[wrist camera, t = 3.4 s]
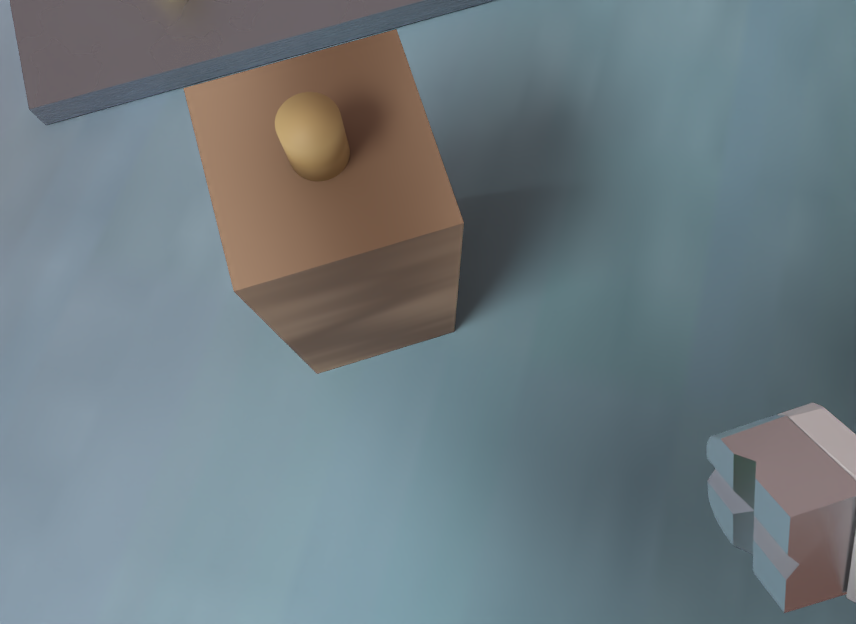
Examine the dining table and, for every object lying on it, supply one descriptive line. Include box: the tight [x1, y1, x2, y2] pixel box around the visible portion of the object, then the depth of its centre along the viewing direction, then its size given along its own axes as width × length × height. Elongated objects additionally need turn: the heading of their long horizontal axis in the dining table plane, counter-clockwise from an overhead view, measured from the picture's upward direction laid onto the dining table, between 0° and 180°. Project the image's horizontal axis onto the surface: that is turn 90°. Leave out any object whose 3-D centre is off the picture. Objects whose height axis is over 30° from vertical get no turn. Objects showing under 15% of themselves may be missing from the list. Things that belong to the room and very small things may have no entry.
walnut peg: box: [184, 29, 464, 374], centre depth 17 cm, size 4×4×10 cm
